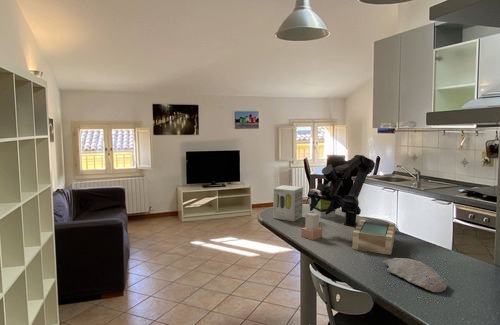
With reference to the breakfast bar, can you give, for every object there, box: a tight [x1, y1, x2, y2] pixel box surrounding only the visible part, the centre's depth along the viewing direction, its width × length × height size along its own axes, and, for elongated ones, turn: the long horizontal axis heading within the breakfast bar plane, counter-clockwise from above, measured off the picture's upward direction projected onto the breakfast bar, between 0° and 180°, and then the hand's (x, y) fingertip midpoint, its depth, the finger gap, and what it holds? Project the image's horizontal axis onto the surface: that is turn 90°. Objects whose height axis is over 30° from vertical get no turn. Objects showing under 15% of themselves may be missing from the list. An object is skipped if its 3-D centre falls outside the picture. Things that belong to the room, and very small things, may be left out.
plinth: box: [300, 226, 323, 241], centre depth 169 cm, size 7×7×4 cm
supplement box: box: [272, 184, 304, 222], centre depth 203 cm, size 13×13×18 cm
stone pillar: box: [304, 212, 320, 230], centre depth 168 cm, size 4×4×7 cm
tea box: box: [308, 188, 336, 219], centre depth 211 cm, size 15×10×15 cm
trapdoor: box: [361, 219, 389, 235], centre depth 159 cm, size 18×10×3 cm, turn 155°
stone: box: [382, 257, 448, 293], centre depth 125 cm, size 16×6×25 cm
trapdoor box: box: [351, 219, 396, 256], centre depth 160 cm, size 23×16×7 cm
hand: (317, 212), depth 171 cm, fingers open, 9 cm apart
